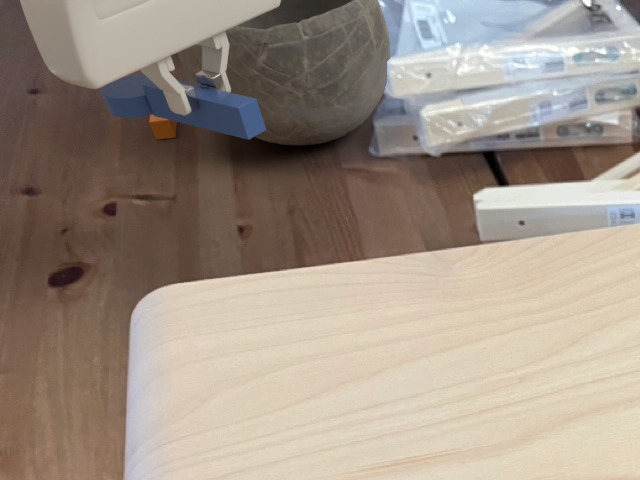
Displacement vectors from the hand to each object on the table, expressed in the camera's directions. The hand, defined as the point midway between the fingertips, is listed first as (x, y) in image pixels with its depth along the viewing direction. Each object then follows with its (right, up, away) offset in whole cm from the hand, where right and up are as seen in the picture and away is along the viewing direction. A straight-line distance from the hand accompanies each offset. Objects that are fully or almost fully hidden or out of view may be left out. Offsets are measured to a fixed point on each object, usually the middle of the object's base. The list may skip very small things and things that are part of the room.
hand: (202, 103), depth 80 cm
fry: (-21, +13, +33) cm, 41 cm away
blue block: (-3, 0, +2) cm, 3 cm away
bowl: (-4, +10, +31) cm, 33 cm away
